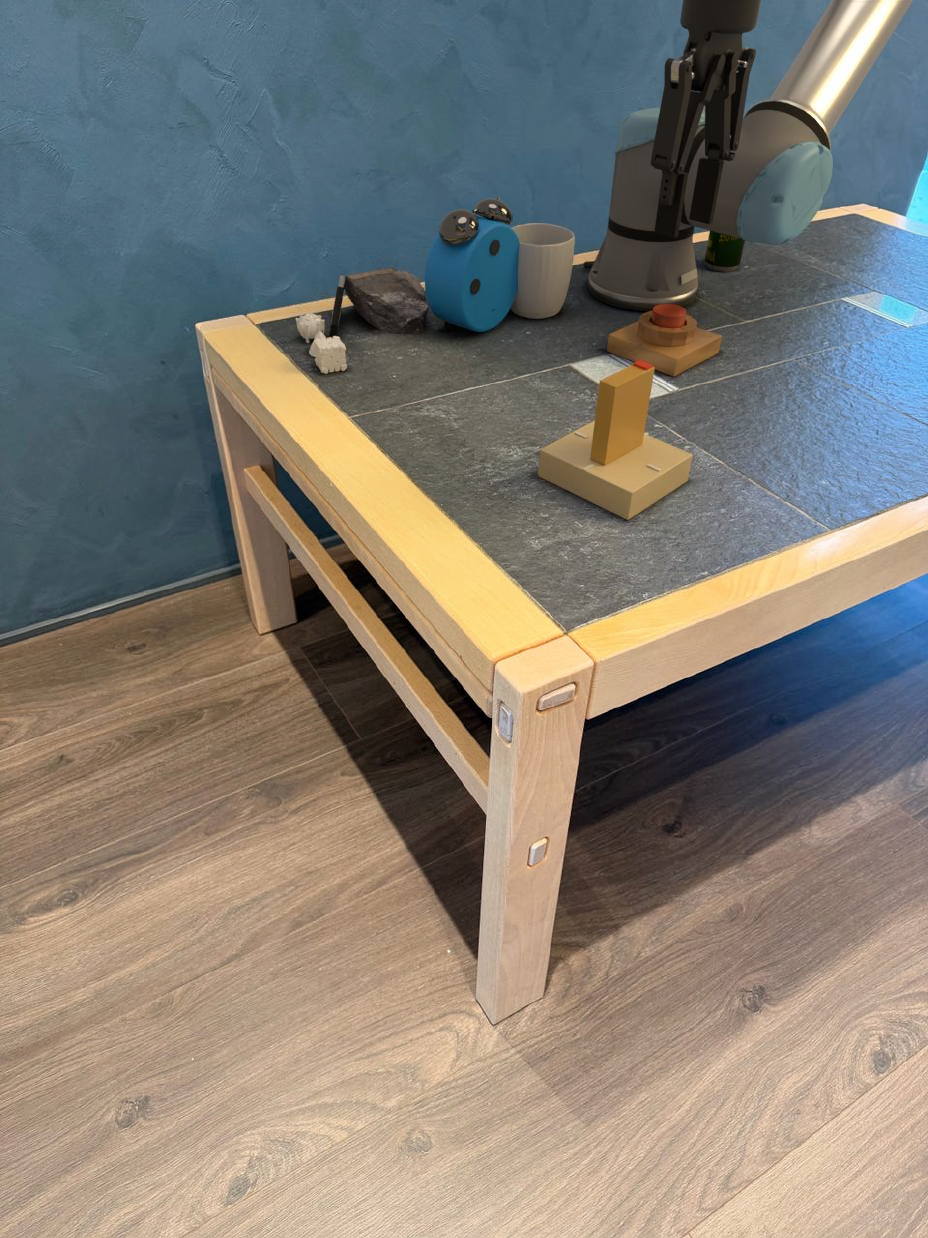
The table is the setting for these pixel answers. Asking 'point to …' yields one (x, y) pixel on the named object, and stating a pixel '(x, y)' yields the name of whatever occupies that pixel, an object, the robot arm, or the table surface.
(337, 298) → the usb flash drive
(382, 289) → the rock
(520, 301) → the mug
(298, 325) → the game pieces
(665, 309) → the button
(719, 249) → the beer can
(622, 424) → the lock knob
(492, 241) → the alarm clock
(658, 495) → the panel
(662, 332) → the button block
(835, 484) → the table surface
